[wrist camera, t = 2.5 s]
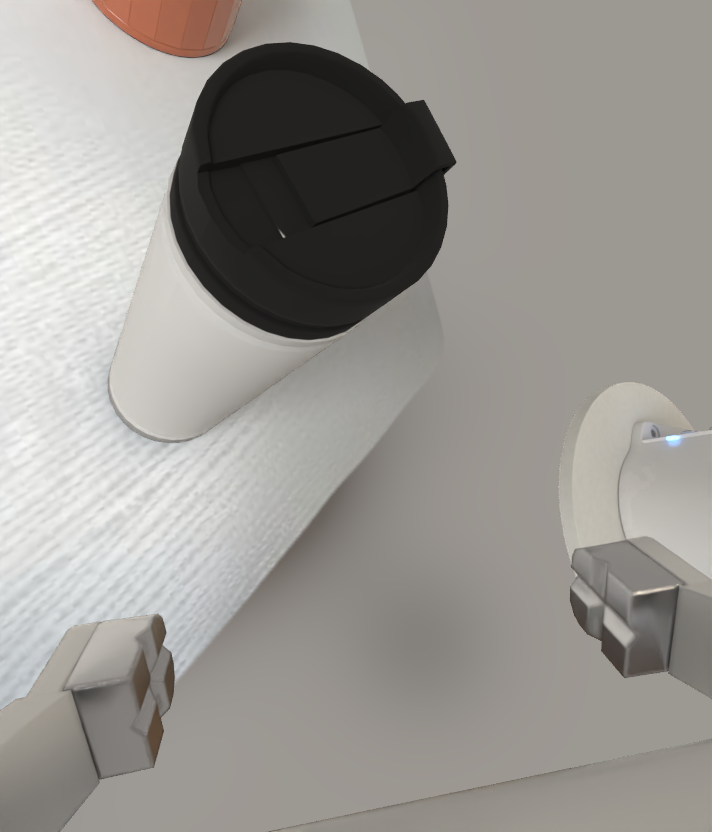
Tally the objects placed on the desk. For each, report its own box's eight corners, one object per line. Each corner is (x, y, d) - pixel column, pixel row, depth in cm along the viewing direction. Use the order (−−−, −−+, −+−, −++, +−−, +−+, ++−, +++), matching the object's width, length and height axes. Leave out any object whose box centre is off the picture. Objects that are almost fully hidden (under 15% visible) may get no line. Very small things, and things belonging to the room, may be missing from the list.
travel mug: (250, 408, 29) (505, 240, 13) (147, 465, 26) (314, 334, 9) (195, 316, 29) (386, 12, 12) (82, 361, 25) (132, 17, 8)
